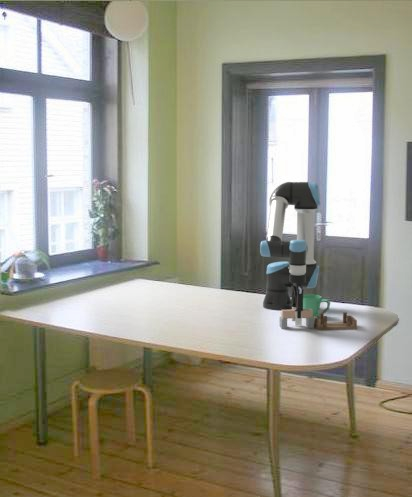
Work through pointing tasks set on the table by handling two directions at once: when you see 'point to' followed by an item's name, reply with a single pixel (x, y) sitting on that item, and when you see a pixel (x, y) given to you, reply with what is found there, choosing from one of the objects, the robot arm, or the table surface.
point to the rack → (335, 323)
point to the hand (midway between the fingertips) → (296, 322)
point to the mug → (314, 303)
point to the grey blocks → (308, 323)
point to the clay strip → (292, 313)
